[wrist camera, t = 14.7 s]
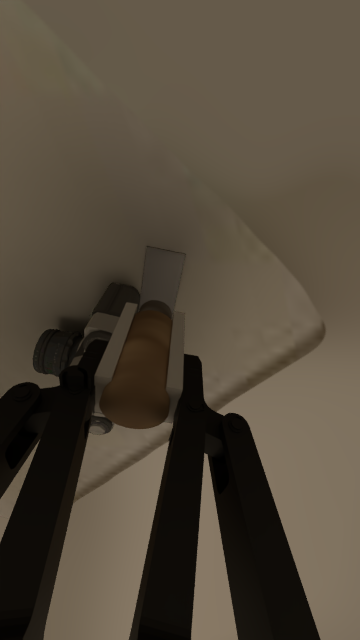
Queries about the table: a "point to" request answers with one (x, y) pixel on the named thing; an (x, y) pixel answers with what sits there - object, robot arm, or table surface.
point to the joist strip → (161, 276)
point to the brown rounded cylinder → (141, 371)
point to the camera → (84, 341)
